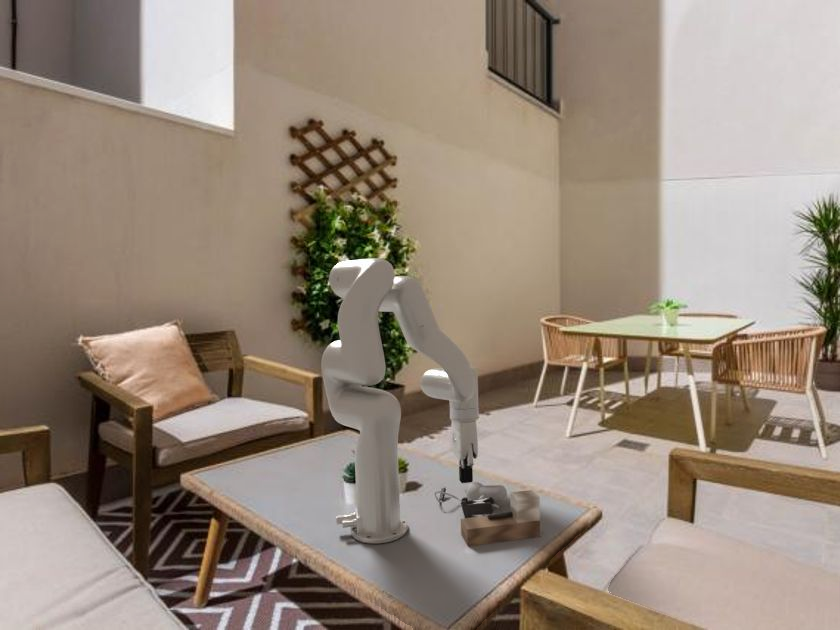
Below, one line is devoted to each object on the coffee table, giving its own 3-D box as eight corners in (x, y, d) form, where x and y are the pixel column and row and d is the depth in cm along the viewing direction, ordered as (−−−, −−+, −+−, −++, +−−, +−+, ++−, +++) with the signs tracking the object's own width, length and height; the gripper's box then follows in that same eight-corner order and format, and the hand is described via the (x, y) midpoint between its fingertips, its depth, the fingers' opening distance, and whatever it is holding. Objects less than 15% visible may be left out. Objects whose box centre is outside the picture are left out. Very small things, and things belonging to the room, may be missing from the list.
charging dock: (467, 546, 106) (466, 505, 106) (459, 531, 113) (458, 493, 112) (540, 536, 109) (539, 497, 109) (528, 522, 116) (527, 485, 115)
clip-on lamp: (428, 521, 125) (493, 521, 115) (421, 495, 125) (485, 494, 115) (451, 498, 135) (513, 497, 125) (445, 475, 135) (506, 472, 124)
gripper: (443, 407, 141) (445, 473, 142) (458, 421, 127) (460, 494, 128) (469, 405, 143) (471, 470, 144) (487, 418, 128) (489, 491, 129)
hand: (466, 481), depth 136 cm, fingers closed
